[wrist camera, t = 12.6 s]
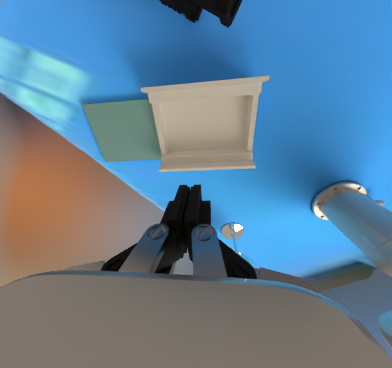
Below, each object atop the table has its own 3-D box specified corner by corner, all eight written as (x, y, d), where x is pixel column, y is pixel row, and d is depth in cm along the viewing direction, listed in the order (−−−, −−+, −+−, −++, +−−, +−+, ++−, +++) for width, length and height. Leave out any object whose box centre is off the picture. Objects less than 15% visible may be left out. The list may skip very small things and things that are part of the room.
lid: (156, 98, 31) (153, 98, 29) (167, 156, 38) (165, 158, 36) (88, 104, 33) (82, 104, 31) (109, 158, 39) (105, 161, 37)
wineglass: (216, 228, 49) (221, 297, 31) (237, 219, 46) (256, 289, 29) (227, 241, 52) (238, 311, 34) (248, 233, 49) (270, 305, 32)
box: (254, 81, 28) (269, 75, 21) (246, 155, 35) (255, 168, 29) (155, 90, 30) (140, 87, 23) (167, 159, 37) (158, 172, 31)
